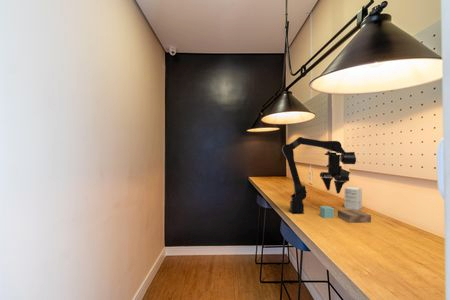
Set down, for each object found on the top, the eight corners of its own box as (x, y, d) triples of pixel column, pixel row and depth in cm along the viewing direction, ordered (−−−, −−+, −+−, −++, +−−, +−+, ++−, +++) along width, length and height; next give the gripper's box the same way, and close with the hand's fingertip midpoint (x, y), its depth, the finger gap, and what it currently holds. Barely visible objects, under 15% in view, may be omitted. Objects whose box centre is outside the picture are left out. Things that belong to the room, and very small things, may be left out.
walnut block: (349, 223, 109) (349, 215, 109) (337, 217, 119) (337, 210, 119) (370, 223, 110) (370, 215, 110) (357, 217, 120) (357, 209, 120)
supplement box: (349, 206, 142) (349, 186, 142) (362, 208, 136) (362, 188, 136) (344, 208, 137) (344, 187, 137) (357, 210, 131) (357, 189, 131)
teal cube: (324, 218, 117) (324, 208, 117) (319, 215, 122) (319, 206, 122) (333, 218, 117) (333, 208, 117) (328, 215, 122) (328, 206, 122)
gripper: (359, 165, 115) (358, 195, 115) (337, 163, 134) (336, 189, 134) (339, 164, 114) (338, 195, 114) (319, 162, 133) (318, 188, 133)
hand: (333, 191), depth 124 cm, fingers open, 9 cm apart
